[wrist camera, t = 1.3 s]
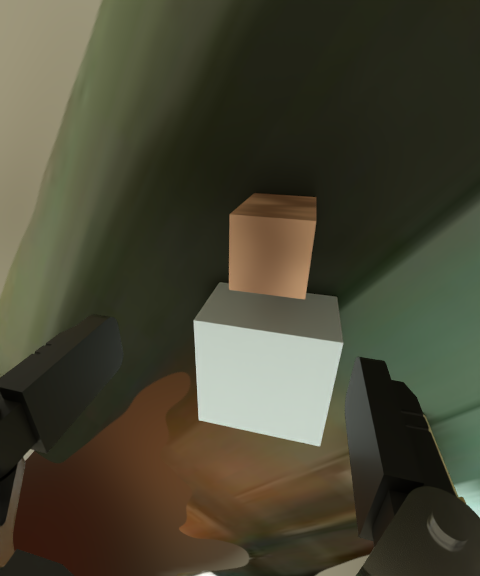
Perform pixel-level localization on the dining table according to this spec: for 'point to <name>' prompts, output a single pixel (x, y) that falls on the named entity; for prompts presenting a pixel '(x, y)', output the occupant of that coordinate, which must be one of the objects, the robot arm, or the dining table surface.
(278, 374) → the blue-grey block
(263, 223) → the terracotta block
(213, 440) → the dining table surface
